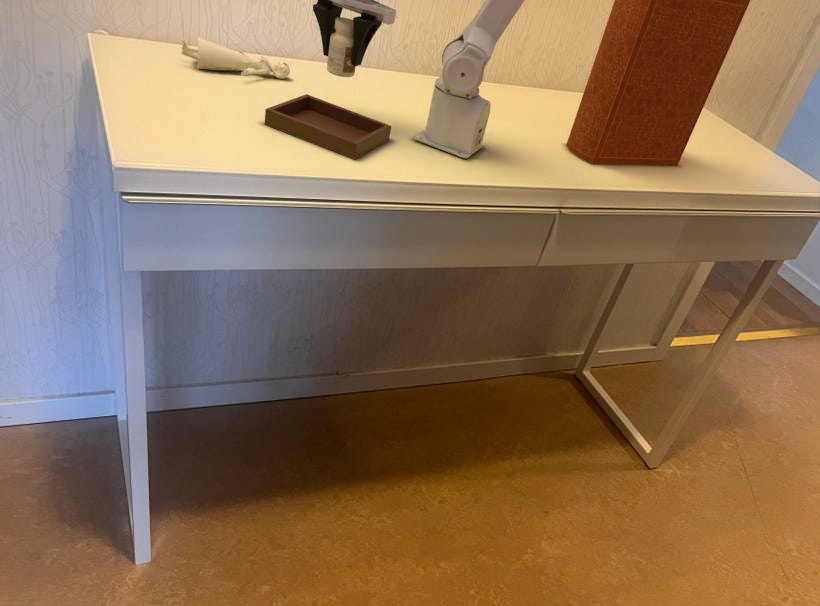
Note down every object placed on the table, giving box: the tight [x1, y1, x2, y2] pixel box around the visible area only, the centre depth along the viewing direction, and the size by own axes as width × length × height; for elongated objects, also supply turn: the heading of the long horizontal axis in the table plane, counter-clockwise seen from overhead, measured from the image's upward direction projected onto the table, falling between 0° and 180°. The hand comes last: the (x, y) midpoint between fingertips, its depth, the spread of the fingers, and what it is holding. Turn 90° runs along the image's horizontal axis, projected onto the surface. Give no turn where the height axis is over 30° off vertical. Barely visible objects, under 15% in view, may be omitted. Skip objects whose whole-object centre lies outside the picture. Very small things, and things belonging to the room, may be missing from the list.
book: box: [565, 0, 751, 167], centre depth 123 cm, size 23×8×30 cm, turn 117°
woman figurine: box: [181, 36, 291, 80], centre depth 120 cm, size 12×4×18 cm
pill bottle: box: [326, 16, 357, 78], centre depth 107 cm, size 4×4×8 cm
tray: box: [264, 93, 392, 160], centre depth 108 cm, size 16×12×2 cm
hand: (342, 59), depth 108 cm, fingers closed on pill bottle, 4 cm apart
